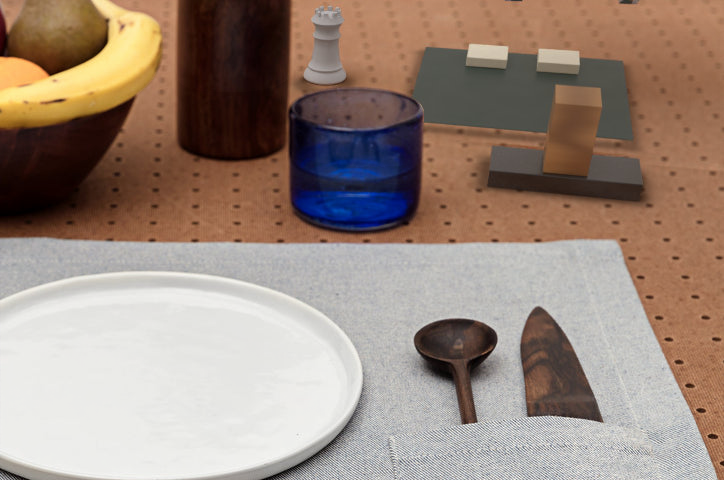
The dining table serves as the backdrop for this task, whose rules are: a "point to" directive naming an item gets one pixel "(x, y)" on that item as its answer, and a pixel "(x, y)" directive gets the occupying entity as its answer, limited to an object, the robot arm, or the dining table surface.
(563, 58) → the chalk lump right
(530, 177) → the duster
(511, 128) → the slate board
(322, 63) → the rook chess piece
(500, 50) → the chalk lump left
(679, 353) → the dining table surface
